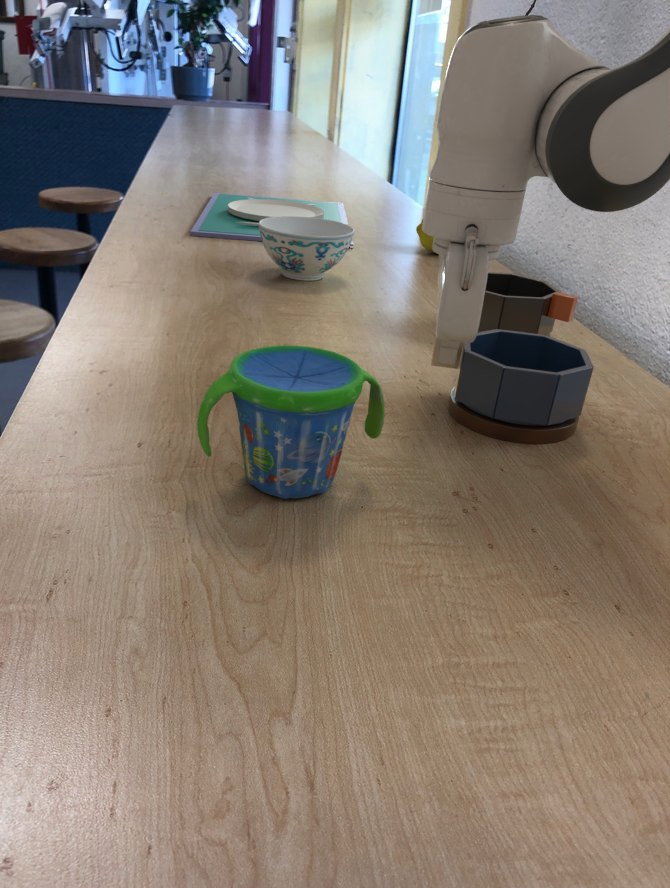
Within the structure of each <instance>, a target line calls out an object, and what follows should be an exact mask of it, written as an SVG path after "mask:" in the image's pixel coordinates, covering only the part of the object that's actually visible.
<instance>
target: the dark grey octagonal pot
mask: <svg viewBox="0 0 670 888" xmlns="http://www.w3.org/2000/svg"><path fill="white" fill-rule="evenodd" d="M578 300H579V296H577V295H574V294H573V295H572V294H568V293H564V292H562V291H561V290H560V289H558V288H556V287H555V286H553V284H551V283H550V282H548V281H546V280H543V279H538V278H534V277H530V276H526V275H525V276H524V275H522V274H521V275H520V274H517V273H509V272H493V271H488V278H487V284H486V290H485V296H484V301H483V307H482V312H481V318H480V324H479V328H478V332H483V331H489V330H495V329H497V330H498V329H500V330H508V331H516V332H525V333H533V334H541V335H546V334H548V333H550V334H551V333H553V330H554V326H555V322H556V320H557V321H561V322H565V323H571V322H572V321H573V320H574V315H575V313H576V312H575V311H576V307H577V303H578Z"/></svg>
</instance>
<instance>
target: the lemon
mask: <svg viewBox="0 0 670 888" xmlns="http://www.w3.org/2000/svg"><path fill="white" fill-rule="evenodd" d="M422 224H423V218H422V219H421V222H420V223H419V224H418V225H417V226H416V228H415V232H416V233H417V236H418V237H419V242H420V245H421V246H422V247H423V248H424V249H425V250H426V251H429V252H431V253H434V254H436V253H435V252H434V251H433V250H432V246H433V242H434V241H433V240H434V237H432V236H429V235H427V234H426V233H424V232H423V231H422Z"/></svg>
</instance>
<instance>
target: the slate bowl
mask: <svg viewBox="0 0 670 888" xmlns="http://www.w3.org/2000/svg"><path fill="white" fill-rule="evenodd" d="M440 342H441V339H438V338H437V336H436V335H435V337H434V343H433V350H432V354H431V361H430V366H434V367H440V368H447V369H456V371H455V376H454V387H455V399H456V400H457V401H459V402H461V403H463V404H464V405H465V406H466V407H468V408H469V409H471V410H473V411H474V412H476V413H479V414H481V415H483V416H486V417H489V418H492V419H495V420H499V421H503V422H507V423H513V424H519V425H529V426H547V425H555V424H559V423H562V422H565V421H567V420H569V419H572V418H576V417H579V418H580V417H581V414H582V411H583V407H584V405H585V401H586V397H587V394H588V391H589V390H588V389H589V385H590V383H591V378H592V374H593V371H594V369H595V367H594V364H593V362H592V360H591V358H590V356H589V354H588V352H587V349H584V348H581V347H578V346H576V345H574V344H571V343H568V342H565V341H562V340H560V339H557V338H555V337H552V336H551V335H550V336H547V335H546V336H545V335H541V334H533V333H525V332H516V331H508V330H500V329H498V330H497V329H495V330H489V331H483V332H478V333H477V336H476V338H475V340H474V341H473V342H472V343H463V342H461V343H460V346H459V349H458V354H457V359H456V363H455V364H453V365H447V364H441V363H439V361H438V355H439V348H440Z"/></svg>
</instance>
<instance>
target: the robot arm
mask: <svg viewBox="0 0 670 888" xmlns="http://www.w3.org/2000/svg"><path fill="white" fill-rule="evenodd" d="M436 133H437V152H436V153H437V154H436V158H435V161H434V164H433V165H432V168H431V170H430V173H429V177H428V178H429V179H428V185H427V192H426V197H425V204H424V205H425V206H424V213H423V218H422V219H423V224H422V231H423V232H424V233H426V234H427V235H429V236H432V237H434V240H433V241H434V242H433V246H432V250H433V251H434V252H435V253H434V254H437V255H438V263H437V298H436V317H435V318H436V321H435V336H437V338H438V339H441V342H440V348H439V355H438V361H439V363H441V364H447V365H453V364H455V363H456V359H457V354H458V349H459V346H460V343H461V342H463V343H472V342H473V341H474V340H475V338H476V336H477V333H478V328H479V324H480V318H481V312H482V307H483V301H484V296H485V290H486V284H487V278H488V272H489V269H490V268H489V267H490V261H493V260H496V259H498V258H499V255H500V249H501V246H506V245H510V244H513V243H515V241H516V240H517V235H518V231H519V224H520V219H521V215H522V210H523V206H524V200H525V196H526V190H527V187H528V186H527V185H528V182H529V180H530V179H532V178H534V177H540V178H541V177H542V178H548V179H550V180H551V181H552V182H553V183H554V184H556V186H557V187H558V189H559V191H560V192H561V193H562V194H563V195H564V196H565V197H566V198H567V200H569V201H570V202H572V203H573V204H575V205H576V206H577V207H580V208H583V209H585V210H587V211H591V212H597V213H613V212H620V211H625V210H627V209H630V208H633V207H636V206H637V205H640V204H642V203H643V202H645V201H647V200H648V199H650V198H651V197H653V196H654V195H655V194H657V193H658V192H659V191H660V190H661V189H662V188H664V186H665V185H666V184H667V183H668V182H669V181H670V28H668V30H667V31H666V32H665V33H664V34H663V35H662V36H661V37H660V39H658V40H657V41H656V43H655V44H653V45H652V46H651V47H650V48H649V49H647V50H646V51H645V52H644V53H642V54H641V55H639V56H638V57H636V58H634V59H633V60H631V61H629V62H627V63H625V64H623V65H622V64H621V66H618V67H614V68H612V69H611V68H609V67H607V66H606V65H605V64H603V63H601V62H600V61H597V60H596V59H594V58H592V57H591V56H589V55H587V54H586V53H585V52H583V51H582V50H580V49H579V48H578V47H576V46H575V45H574V44H572V43H571V42H570V41H569V40H567V38H565V37H564V35H562V34H561V33H560V32H559V31H558V30H557V28H556V27H555V26H554V25H553V24H552V21H551V20H550V19H549V18H548V17H545V16H543V15H539V14H529V15H516V16H509V17H501V18H494V19H490V20H483V21H480V22H477V23H475V24H473V25H472V26H470V27H469V28H467V29H466V30H465V31H464V32H463V34H461V35H460V36H459V37H458V39H457V41H456V43H455V44H454V47H453V50H452V51H451V55H450V59H449V61H448V66H447V70H446V74H445V79H444V83H443V88H442V93H441V99H440V105H439V111H438V117H437V124H436Z"/></svg>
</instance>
